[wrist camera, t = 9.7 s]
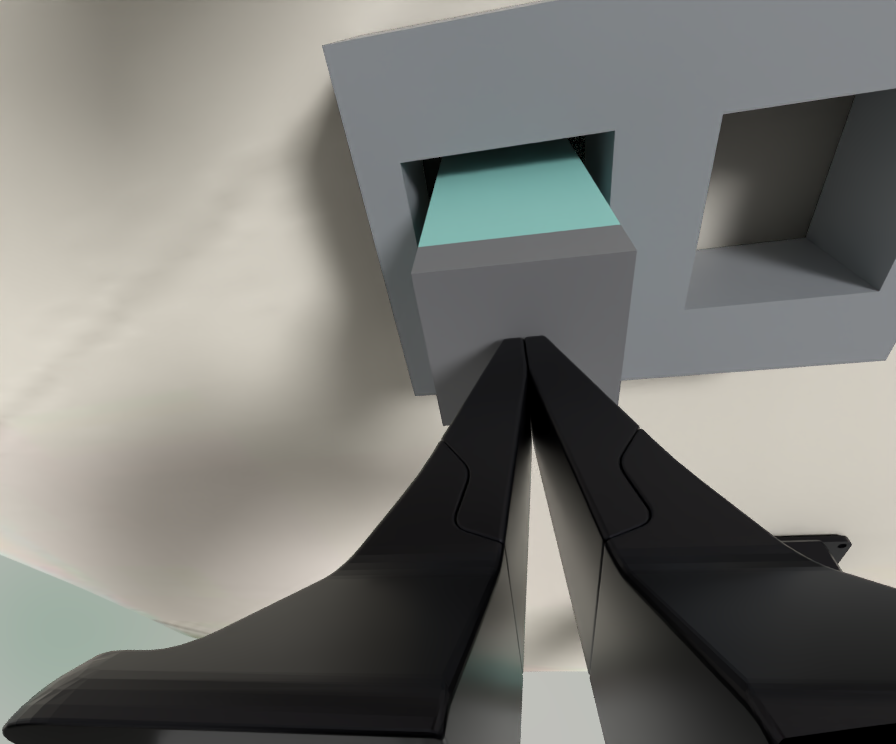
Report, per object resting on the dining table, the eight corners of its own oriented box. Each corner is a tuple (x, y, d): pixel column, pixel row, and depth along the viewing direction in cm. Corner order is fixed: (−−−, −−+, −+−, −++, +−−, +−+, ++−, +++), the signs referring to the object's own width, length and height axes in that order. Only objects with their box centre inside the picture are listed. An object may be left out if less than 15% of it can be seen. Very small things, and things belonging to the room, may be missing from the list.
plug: (562, 247, 17) (616, 415, 10) (459, 258, 18) (442, 425, 11) (563, 132, 15) (636, 251, 8) (444, 149, 16) (410, 274, 8)
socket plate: (816, 299, 18) (885, 360, 15) (425, 336, 20) (414, 396, 17) (970, -83, 11) (1153, -115, 8) (358, 36, 14) (322, 45, 11)
